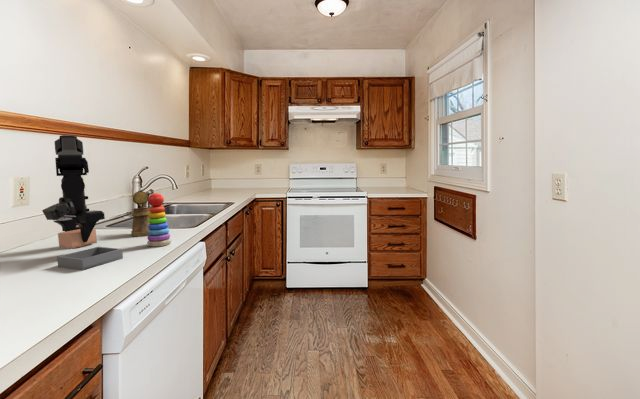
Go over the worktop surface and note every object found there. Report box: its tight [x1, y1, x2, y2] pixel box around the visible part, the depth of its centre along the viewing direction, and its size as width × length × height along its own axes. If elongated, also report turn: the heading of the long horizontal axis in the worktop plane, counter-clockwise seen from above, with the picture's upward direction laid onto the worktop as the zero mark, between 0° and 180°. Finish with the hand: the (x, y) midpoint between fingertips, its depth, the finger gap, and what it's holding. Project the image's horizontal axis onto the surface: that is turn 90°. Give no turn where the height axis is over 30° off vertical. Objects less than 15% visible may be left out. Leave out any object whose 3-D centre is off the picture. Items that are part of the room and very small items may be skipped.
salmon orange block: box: [57, 228, 98, 249], centre depth 110 cm, size 6×8×4 cm
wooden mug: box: [130, 190, 151, 237], centre depth 144 cm, size 9×14×18 cm, turn 27°
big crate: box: [56, 246, 124, 271], centre depth 102 cm, size 10×12×3 cm
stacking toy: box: [146, 192, 172, 248], centre depth 123 cm, size 8×8×19 cm
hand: (78, 241), depth 111 cm, fingers closed on salmon orange block, 6 cm apart
